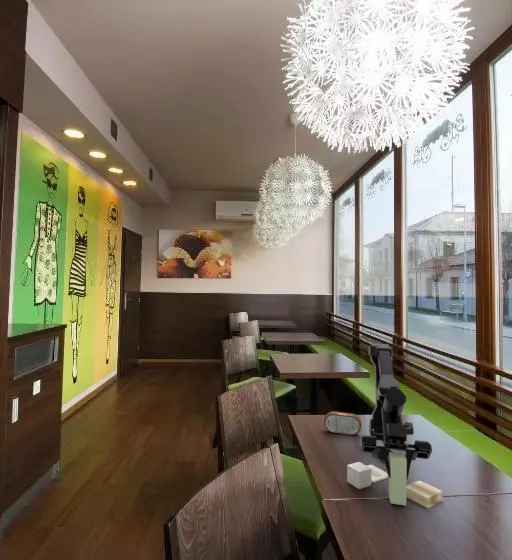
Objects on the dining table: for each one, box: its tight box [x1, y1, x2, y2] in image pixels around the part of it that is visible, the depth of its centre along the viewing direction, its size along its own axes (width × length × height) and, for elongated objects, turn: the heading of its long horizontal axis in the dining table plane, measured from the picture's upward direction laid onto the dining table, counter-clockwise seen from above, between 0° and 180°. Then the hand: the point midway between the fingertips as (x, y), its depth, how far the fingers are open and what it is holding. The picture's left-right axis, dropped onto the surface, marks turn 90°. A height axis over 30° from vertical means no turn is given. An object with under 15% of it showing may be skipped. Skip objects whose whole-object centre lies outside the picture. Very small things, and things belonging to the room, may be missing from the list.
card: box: [367, 464, 389, 484], centre depth 115 cm, size 8×8×1 cm
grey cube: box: [346, 461, 372, 490], centre depth 109 cm, size 5×5×5 cm
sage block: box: [388, 451, 408, 507], centre depth 99 cm, size 4×4×12 cm
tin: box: [323, 411, 362, 436], centre depth 149 cm, size 15×3×8 cm, turn 74°
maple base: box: [406, 480, 443, 509], centre depth 102 cm, size 7×7×3 cm
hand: (398, 478), depth 98 cm, fingers closed on sage block, 4 cm apart
